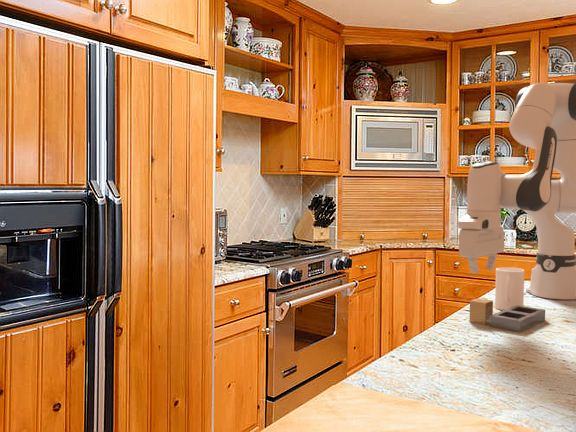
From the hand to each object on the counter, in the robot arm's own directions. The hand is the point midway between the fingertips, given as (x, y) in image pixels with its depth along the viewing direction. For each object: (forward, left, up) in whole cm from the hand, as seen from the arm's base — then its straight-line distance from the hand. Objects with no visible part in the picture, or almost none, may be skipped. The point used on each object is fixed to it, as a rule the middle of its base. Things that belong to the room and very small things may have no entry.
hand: (482, 271), depth 151 cm
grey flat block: (-6, +8, -14) cm, 17 cm away
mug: (-20, -1, -14) cm, 25 cm away
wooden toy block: (0, 0, -14) cm, 14 cm away
